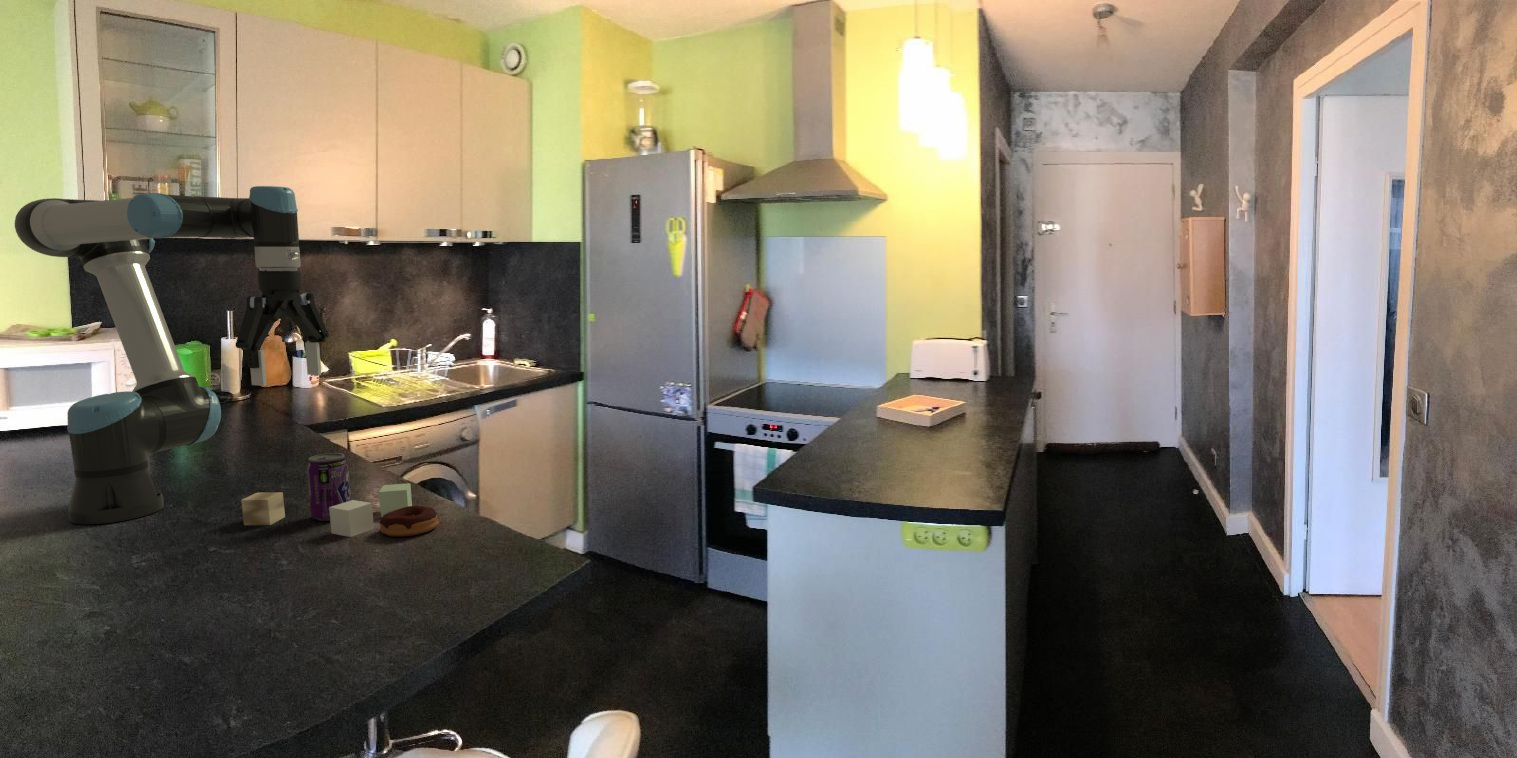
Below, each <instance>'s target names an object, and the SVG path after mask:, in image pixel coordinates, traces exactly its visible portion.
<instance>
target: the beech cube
mask: <svg viewBox="0 0 1517 758" xmlns="http://www.w3.org/2000/svg"><path fill="white" fill-rule="evenodd" d="M284 501H285V500H284V493H283V492H279V491H278V492H276V491H275V492H262V491H261V492H255V493H252V494H251V495H249V496H247V497H245V498H242V499H241V510H242V520H243V526H271V525H273V524H275V523H277V522H279V521H280V520H282V519H284V518H286V513H285V512H286V511H285V502H284Z"/></svg>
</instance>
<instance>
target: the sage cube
mask: <svg viewBox="0 0 1517 758" xmlns="http://www.w3.org/2000/svg"><path fill="white" fill-rule="evenodd" d="M378 495H379V496H378V497H379V498H378V499H379V509H380V510H379V511H380V518H382V516H383V515H385V514H386V513H389V512H392V511H394V510H397V509H400V508H404V507H408V506H413V503H412V487H411V483H396V484H395V483H394V484H384V485H382V487H381V488H380V490H378Z"/></svg>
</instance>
